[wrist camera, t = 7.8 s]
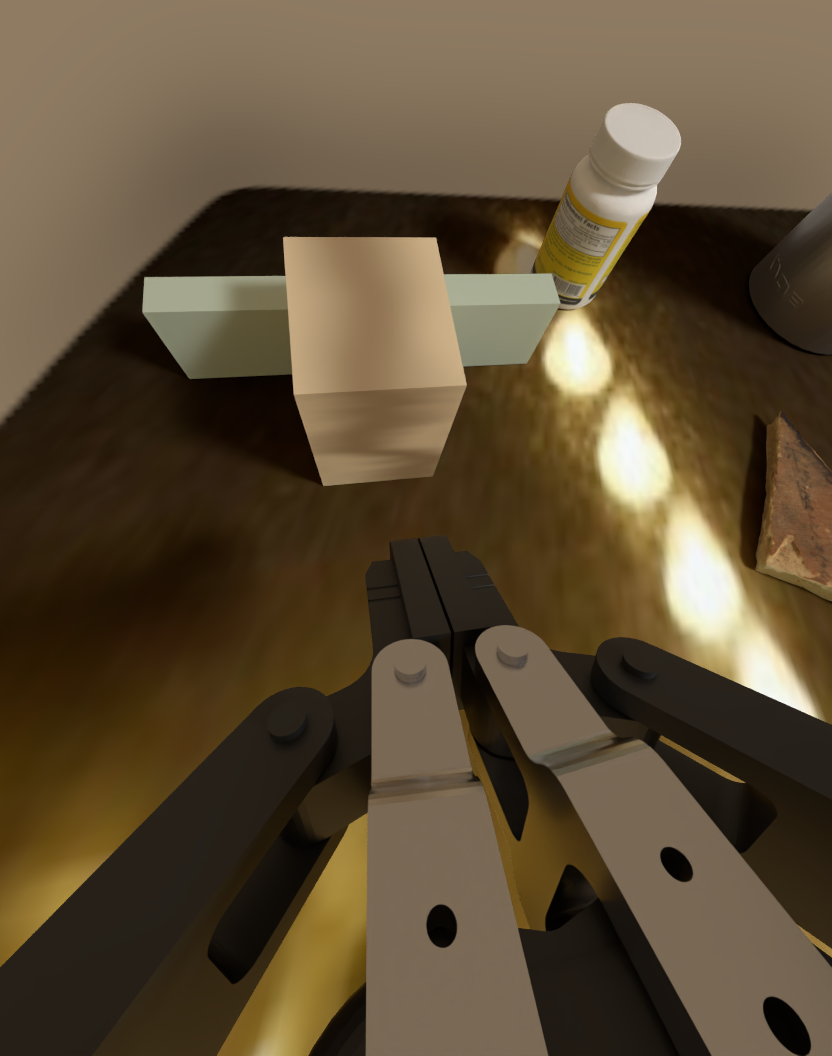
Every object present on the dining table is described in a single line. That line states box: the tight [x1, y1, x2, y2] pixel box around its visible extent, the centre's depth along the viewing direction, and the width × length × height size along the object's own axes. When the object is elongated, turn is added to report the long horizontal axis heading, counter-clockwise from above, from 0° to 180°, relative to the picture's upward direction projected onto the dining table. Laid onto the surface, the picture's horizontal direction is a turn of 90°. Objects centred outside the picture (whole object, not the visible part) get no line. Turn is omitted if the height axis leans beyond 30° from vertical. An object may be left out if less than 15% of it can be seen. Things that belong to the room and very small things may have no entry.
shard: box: [755, 411, 832, 601], centre depth 23 cm, size 11×8×2 cm
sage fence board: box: [143, 274, 561, 379], centre depth 21 cm, size 20×2×4 cm, turn 98°
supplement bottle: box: [531, 103, 681, 310], centre depth 22 cm, size 5×5×8 cm
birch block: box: [283, 237, 467, 486], centre depth 18 cm, size 6×7×8 cm
